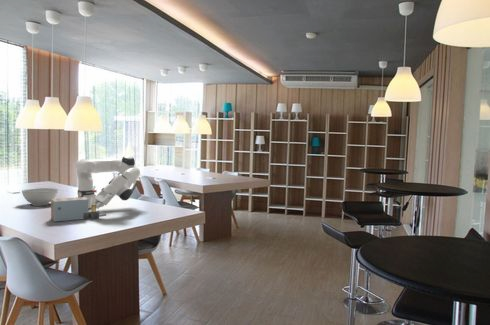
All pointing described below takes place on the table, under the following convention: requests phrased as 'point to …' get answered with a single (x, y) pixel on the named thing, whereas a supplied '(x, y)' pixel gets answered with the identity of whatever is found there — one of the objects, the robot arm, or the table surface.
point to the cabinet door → (70, 209)
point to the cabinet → (61, 200)
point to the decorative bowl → (39, 195)
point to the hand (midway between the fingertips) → (95, 207)
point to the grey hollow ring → (91, 215)
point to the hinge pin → (93, 208)
